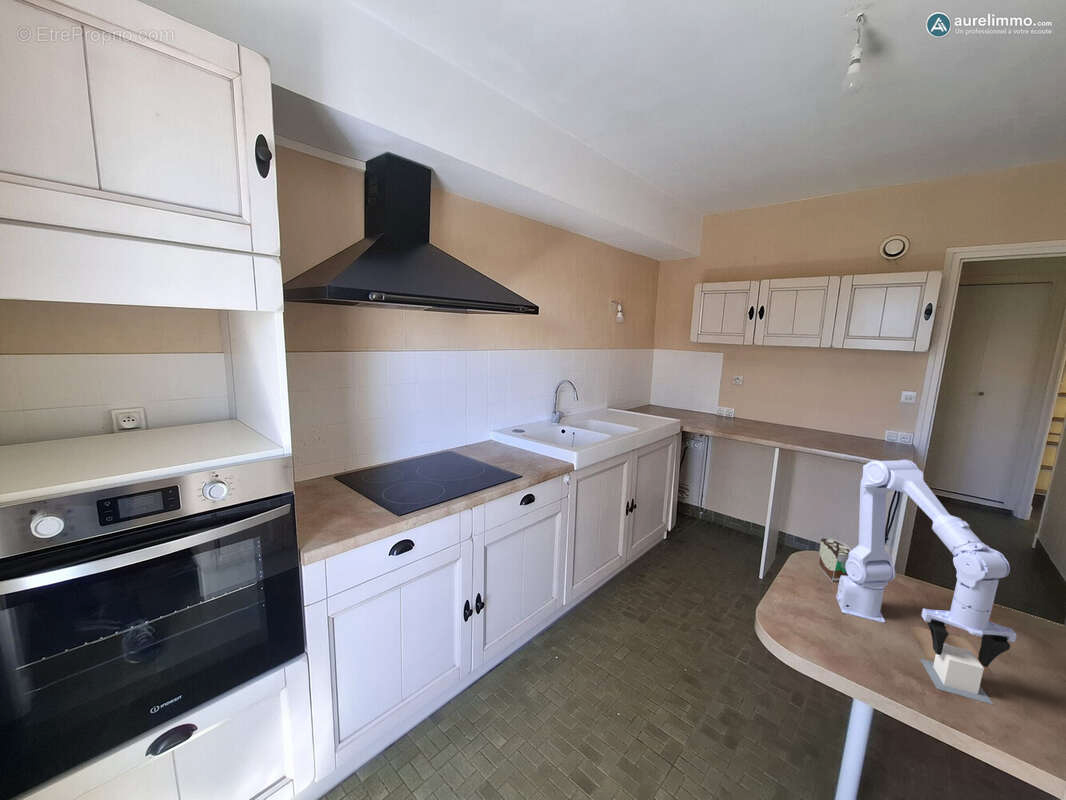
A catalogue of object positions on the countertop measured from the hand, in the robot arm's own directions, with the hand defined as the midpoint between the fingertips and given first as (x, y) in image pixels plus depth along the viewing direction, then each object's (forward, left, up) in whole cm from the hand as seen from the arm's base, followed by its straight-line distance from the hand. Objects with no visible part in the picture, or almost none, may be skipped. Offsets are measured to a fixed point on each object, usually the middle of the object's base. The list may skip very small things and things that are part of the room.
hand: (959, 657), depth 92 cm
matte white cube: (0, 0, -6) cm, 6 cm away
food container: (-15, +37, -6) cm, 40 cm away
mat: (0, 0, -6) cm, 6 cm away
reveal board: (+3, +12, -6) cm, 14 cm away
